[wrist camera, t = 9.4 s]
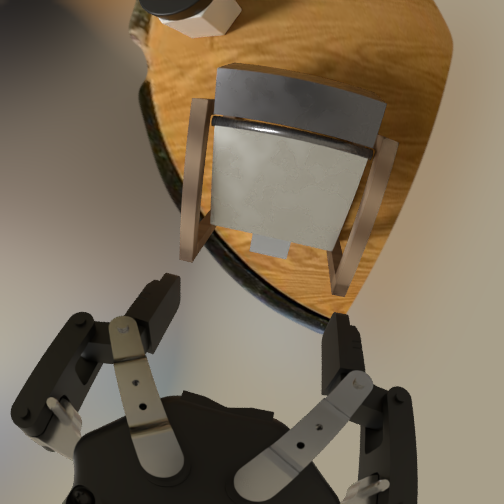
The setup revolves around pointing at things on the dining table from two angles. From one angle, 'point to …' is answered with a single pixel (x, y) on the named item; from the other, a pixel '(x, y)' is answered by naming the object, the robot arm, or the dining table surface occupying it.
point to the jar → (195, 15)
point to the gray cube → (269, 246)
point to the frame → (198, 233)
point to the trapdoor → (289, 152)
